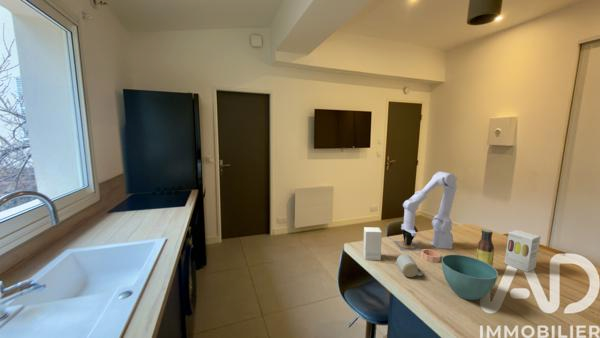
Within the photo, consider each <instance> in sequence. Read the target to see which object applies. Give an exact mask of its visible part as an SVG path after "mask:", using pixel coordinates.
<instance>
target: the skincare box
mask: <svg viewBox="0 0 600 338" xmlns="http://www.w3.org/2000/svg"><path fill="white" fill-rule="evenodd" d="M382 234H383V232H382V230H381V228H380V227H376V226H375V227H373V226H372V227H371V226H369V227H368V226H367V227H366V226H364V227H363V246H362V254H363V258H364V260H366V261H368V260H370V261H381V260H382V237H383V235H382Z"/></svg>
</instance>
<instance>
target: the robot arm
mask: <svg viewBox="0 0 600 338" xmlns="http://www.w3.org/2000/svg"><path fill="white" fill-rule="evenodd" d="M457 179H458V178H457V176H456V175H455V174H453V173H450V172H445V171H442V170H441V171H440V170H439V171H436V172H435V174H433V175H432V177H431V178H430V181H428V183H426V185H425V186H424V187H423V188H422V189H420V190H417V191H415V192H414V194H413V195H412V196H411V197H410V198H408V199H406V200H405V201H404V202H403V203H402V207H403V209H404V213H403V223H401V227H400V231H401V233H402V237H403V241H404V242H405V237H406V243H407V245H411V243H412V242H413V240H414V238H415V237H416V236H417V232H416V230H415V220H416V212H417V211H418V209H419V206H420V205H421V203H423V202H424V201H425V200H426V199H427V195H428V194H429V193H430V192H431V191H432V190H434V189H436V188H437V186H442V187H443V188H444V189H443V193H442V197H441V198H442V199H441V201H440V206H439V209H438V212H437V213H438V214H436V215H434V217H433V219H432V221H431V226H432V227H433V228H432V229H433V236H432V241H429V243H430V244H431V245H432V246H434V248H436V249H445V250H446V249H449V250H450V249H451V250H452V249H453V241H454V237H453V233H452V232H451V231H452V230H453V229H452V228H453V227H452V222H453V221H452V220H451V218H450V214H451V212H452V211H451V210H452V206H453V203H454V199H455V194H456V191H457Z"/></svg>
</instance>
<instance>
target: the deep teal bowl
mask: <svg viewBox="0 0 600 338" xmlns="http://www.w3.org/2000/svg"><path fill="white" fill-rule="evenodd" d="M441 257H442V258H441V268H442V273H443V275H444V276H443V277H444V278H445V281H446V282H447V284H448V287H450V289H451V290H452V292H453V293H454V294H455V295H456V296H458V297H460V298H462V299H465V300H469V301H477V300H480V299H481V298H484V297H485V296H486V295H488V294H489V293H490V292H491V290H493V288H494V286H495V285H496V283H497V280H498V276H499V273H498V271H497V269H496V268H494V267H493V266H490V265H489V264H487V263H485V262H483V261H481V260H478V259H476V258H474V257H471V256H467V255H461V254H445V255H444V256H441Z"/></svg>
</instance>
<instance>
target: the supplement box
mask: <svg viewBox="0 0 600 338" xmlns="http://www.w3.org/2000/svg"><path fill="white" fill-rule="evenodd" d="M540 242H541V235H538V234H534V233H530V232H526V231H523V230H520V229H516V230H515V229H514V230H512V231H509V232H508V236H507V242H506V249H505V256H504V263H503V264H505V265H507V266H510V267H513V268H514V269H518V270H521V271H523V272H526V273H529V272H531V271H532V270H534V269H536V268H537V267H536V266H537V262H538V255H539V254H538V253H539V248H540Z"/></svg>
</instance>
